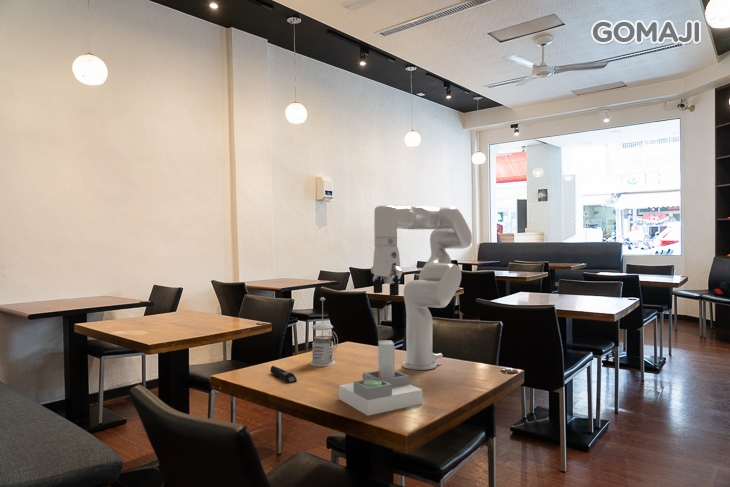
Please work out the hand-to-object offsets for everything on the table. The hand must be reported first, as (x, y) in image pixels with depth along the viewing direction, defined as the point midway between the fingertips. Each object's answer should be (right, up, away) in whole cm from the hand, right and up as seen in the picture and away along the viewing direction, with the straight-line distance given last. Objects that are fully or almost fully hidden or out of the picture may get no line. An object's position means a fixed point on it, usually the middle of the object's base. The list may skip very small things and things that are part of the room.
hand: (385, 294), depth 162 cm
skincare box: (-1, -25, -18) cm, 30 cm away
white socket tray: (-3, -28, -23) cm, 36 cm away
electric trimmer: (-35, -29, +2) cm, 45 cm away
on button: (-5, -24, -29) cm, 38 cm away
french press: (-22, -29, +22) cm, 42 cm away
